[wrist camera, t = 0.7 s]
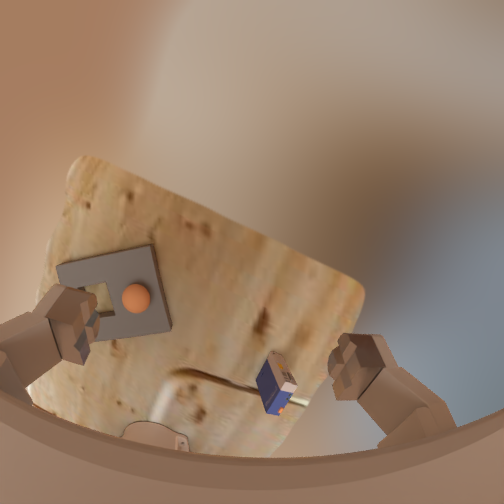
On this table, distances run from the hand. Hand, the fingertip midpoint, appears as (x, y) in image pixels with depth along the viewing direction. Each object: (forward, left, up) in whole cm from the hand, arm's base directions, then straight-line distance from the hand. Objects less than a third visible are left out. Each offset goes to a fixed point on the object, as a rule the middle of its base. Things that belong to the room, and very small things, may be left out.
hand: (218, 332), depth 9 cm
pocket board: (-9, +21, -43) cm, 49 cm away
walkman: (-31, -6, -44) cm, 54 cm away
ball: (-9, +15, -38) cm, 42 cm away
